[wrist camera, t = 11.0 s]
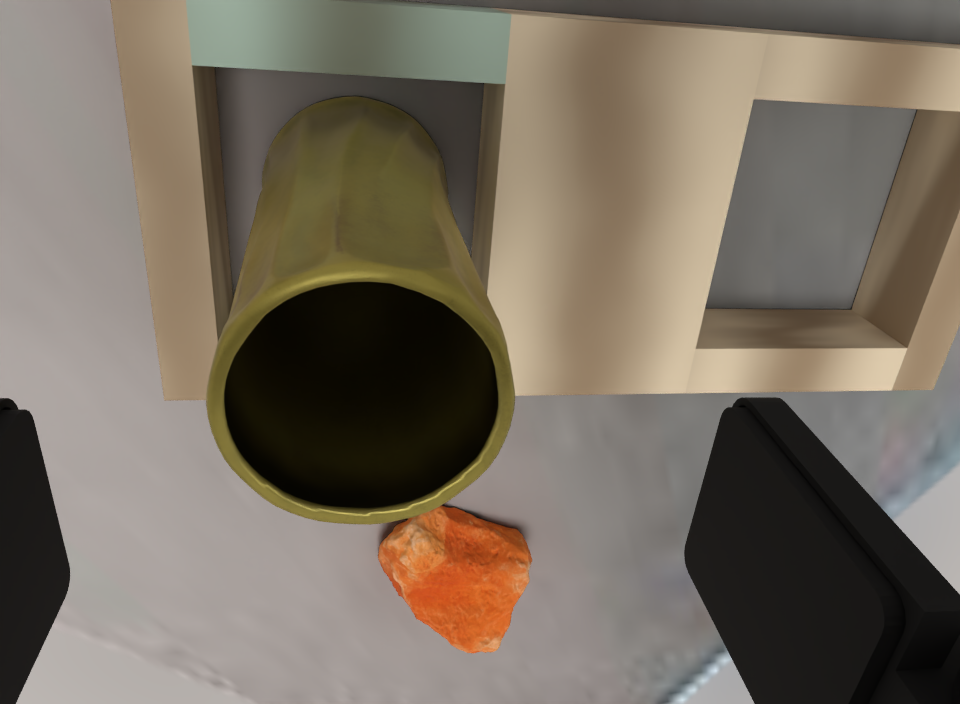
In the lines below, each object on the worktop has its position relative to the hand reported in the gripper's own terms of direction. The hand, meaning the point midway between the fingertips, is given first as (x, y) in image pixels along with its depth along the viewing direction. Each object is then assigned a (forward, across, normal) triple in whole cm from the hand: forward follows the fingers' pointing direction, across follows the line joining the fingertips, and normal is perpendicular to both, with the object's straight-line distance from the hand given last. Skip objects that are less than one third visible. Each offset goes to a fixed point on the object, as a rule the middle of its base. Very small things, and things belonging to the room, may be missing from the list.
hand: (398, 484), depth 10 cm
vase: (+17, +1, +1) cm, 17 cm away
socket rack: (+17, -7, +1) cm, 18 cm away
